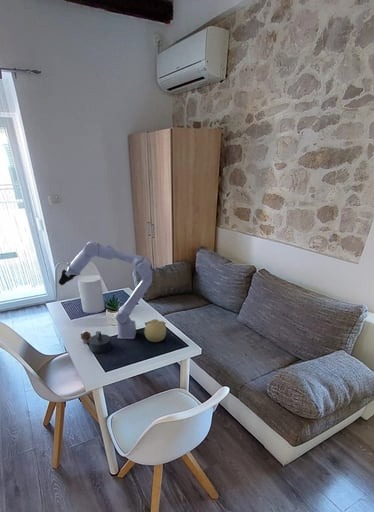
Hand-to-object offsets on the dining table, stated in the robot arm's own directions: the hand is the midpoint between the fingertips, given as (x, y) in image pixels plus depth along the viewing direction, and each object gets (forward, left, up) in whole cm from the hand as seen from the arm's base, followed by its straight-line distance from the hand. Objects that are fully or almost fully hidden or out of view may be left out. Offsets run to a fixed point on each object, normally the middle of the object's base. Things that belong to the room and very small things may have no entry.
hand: (63, 282), depth 152 cm
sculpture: (-44, +1, -30) cm, 54 cm away
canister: (0, -36, -30) cm, 47 cm away
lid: (-17, +12, -26) cm, 33 cm away
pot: (-17, +12, -30) cm, 37 cm away
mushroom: (-8, +6, -30) cm, 32 cm away
